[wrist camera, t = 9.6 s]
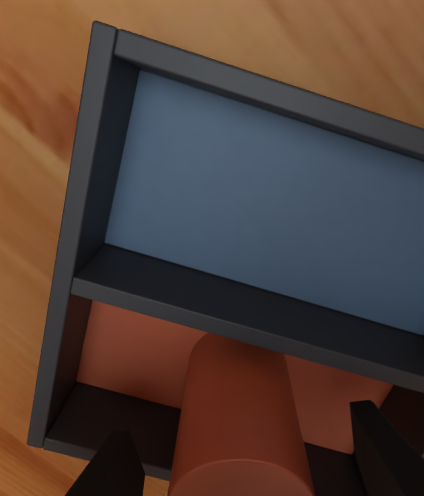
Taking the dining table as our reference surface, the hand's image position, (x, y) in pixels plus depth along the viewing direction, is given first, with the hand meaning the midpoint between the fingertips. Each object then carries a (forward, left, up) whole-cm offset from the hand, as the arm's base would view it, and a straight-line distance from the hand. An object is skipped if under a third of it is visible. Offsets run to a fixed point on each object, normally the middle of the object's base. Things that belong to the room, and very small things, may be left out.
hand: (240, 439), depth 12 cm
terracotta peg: (0, 0, -4) cm, 4 cm away
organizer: (0, -3, -4) cm, 5 cm away
